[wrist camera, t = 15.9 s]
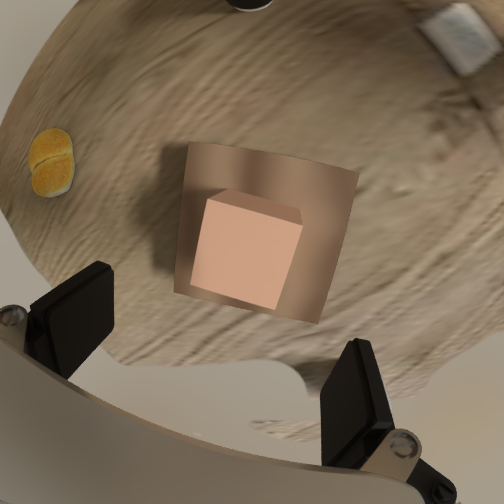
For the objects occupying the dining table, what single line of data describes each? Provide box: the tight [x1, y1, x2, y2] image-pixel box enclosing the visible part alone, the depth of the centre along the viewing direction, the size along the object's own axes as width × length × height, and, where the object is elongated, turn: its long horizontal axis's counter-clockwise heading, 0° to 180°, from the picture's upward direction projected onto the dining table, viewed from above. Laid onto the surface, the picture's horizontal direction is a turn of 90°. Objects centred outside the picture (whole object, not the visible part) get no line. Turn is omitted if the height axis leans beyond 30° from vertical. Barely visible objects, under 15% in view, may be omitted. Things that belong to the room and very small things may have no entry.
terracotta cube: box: [190, 189, 303, 310], centre depth 21 cm, size 6×6×6 cm
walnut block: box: [174, 141, 359, 324], centre depth 26 cm, size 14×14×5 cm
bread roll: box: [28, 128, 75, 198], centre depth 27 cm, size 8×9×4 cm
